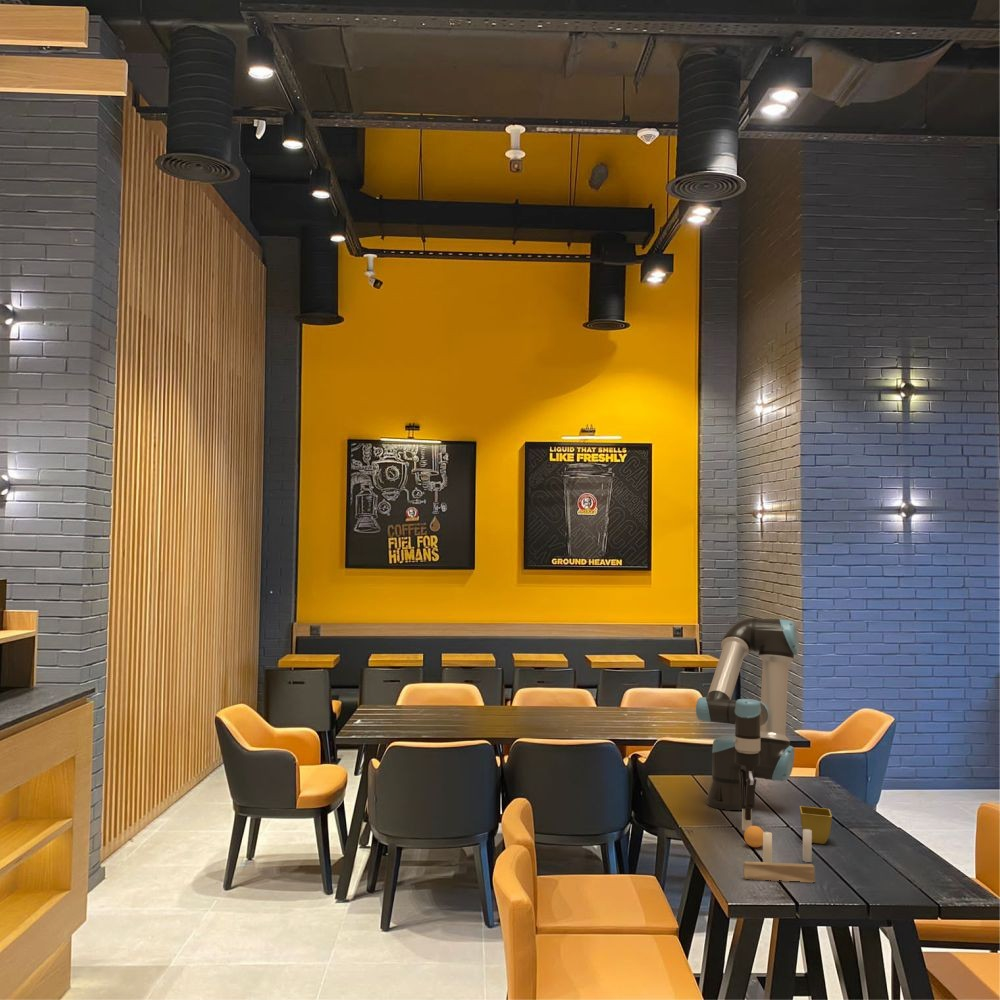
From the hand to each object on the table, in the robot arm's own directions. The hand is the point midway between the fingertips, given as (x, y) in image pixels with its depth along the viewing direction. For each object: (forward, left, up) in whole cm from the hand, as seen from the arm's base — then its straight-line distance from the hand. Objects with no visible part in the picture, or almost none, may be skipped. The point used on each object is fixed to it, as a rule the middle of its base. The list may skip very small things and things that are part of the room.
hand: (746, 829), depth 273 cm
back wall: (+37, 0, -2) cm, 37 cm away
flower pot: (+2, +20, -2) cm, 20 cm away
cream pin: (+25, 0, -2) cm, 25 cm away
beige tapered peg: (+21, +12, -2) cm, 24 cm away
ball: (+10, 0, +1) cm, 10 cm away
